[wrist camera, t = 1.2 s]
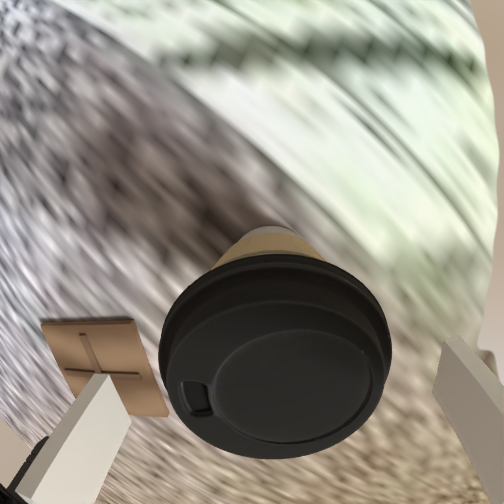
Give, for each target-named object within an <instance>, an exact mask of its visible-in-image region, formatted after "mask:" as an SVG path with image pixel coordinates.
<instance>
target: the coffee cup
mask: <svg viewBox="0 0 504 504" xmlns="http://www.w3.org/2000/svg"><path fill="white" fill-rule="evenodd" d="M391 359H392V343H391V337H390V332H389V329H388V325H387V321H386V318H385V315H384V312H383V310H382V308H381V306H380V304H379V303H378V301H377V300H376V298H375V297H374V295H373V294H372V293H371V292H370V290H369V289H368V288H367V287H366V286H365V285H364V284H363V283H362V282H360V281H359V280H358V279H357V278H355V277H354V276H353V275H351V274H350V273H348V272H346V271H345V270H343V269H341V268H339V267H337V266H335V265H333V264H330V263H328V262H327V261H326V260H325V259H324V258H323V257H322V256H321V255H320V254H319V253H318V252H317V251H316V250H315V249H314V248H313V247H312V246H311V245H310V244H309V243H307V242H306V241H304V240H302V239H301V238H300V237H299V236H298V235H297V234H296V233H294V232H293V231H291V230H289V229H287V228H284V227H279V226H264V227H259V228H256V229H254V230H251V231H250V232H248V233H246V234H245V235H244V236H243V237H242V238H241V239H240V240H239V241H238V242H237V243H236V244H234V245H233V246H231V247H230V248H229V249H228V250H227V251H226V252H225V254H224V255H223V256H222V257H221V258H220V259H219V260H218V262H217V263H216V264H215V265H214V266H213V267H212V268H211V270H210V271H209V272H207V273H205V274H204V275H203V276H201V277H200V278H198V279H197V280H195V281H194V282H193V283H192V284H191V285H189V286H188V287H187V288H186V289H185V290H184V291H183V292H182V293H181V295H180V296H179V297H178V298H177V300H176V301H175V302H174V304H173V306H172V307H171V309H170V311H169V313H168V315H167V317H166V319H165V322H164V325H163V329H162V333H161V339H160V344H159V352H158V362H159V369H160V374H161V378H162V380H163V383H164V386H165V388H166V390H167V392H168V395H169V399H170V402H171V404H172V406H173V408H174V410H175V412H176V414H177V415H178V417H179V418H180V419H181V421H182V422H183V423H184V424H185V425H186V426H187V427H188V428H189V429H190V430H191V431H192V432H193V433H194V434H196V435H197V436H198V437H200V438H201V439H203V440H204V441H206V442H207V443H209V444H211V445H213V446H215V447H217V448H219V449H222V450H224V451H227V452H230V453H233V454H236V455H240V456H245V457H250V458H258V459H288V458H295V457H301V456H305V455H309V454H313V453H316V452H319V451H322V450H324V449H327V448H329V447H331V446H333V445H335V444H337V443H339V442H341V441H342V440H344V439H346V438H347V437H349V436H350V435H351V434H353V433H354V432H355V431H356V430H358V429H359V428H360V427H361V426H362V425H363V424H364V423H365V422H366V421H367V420H368V418H369V417H370V416H371V414H372V413H373V412H374V410H375V408H376V407H377V405H378V403H379V401H380V398H381V396H382V393H383V389H384V384H385V382H386V379H387V377H388V374H389V370H390V366H391Z"/></svg>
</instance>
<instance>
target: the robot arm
mask: <svg viewBox="0 0 504 504" xmlns="http://www.w3.org/2000/svg"><path fill="white" fill-rule="evenodd" d="M432 393H433V395H434V396H435V398H436V400H437V401H438V403H439V405H440V406H441V408H442V410H443V412H444V413H445V415H446V417H447V419H448V420H449V422H450V424H451V426H452V427H453V429H454V431H455V433H456V435H457V436H458V438H459V440H460V442H461V444H462V446H463V447H464V449H465V451H466V453H467V455H468V457H469V459H470V461H471V463H472V465H473V467H474V468H475V470H476V472H477V474H478V476H479V478H480V480H481V483H482V485H483V487H484V489H485V491H486V493H487V495H488V497H489V499H490V501H491V504H504V386H503V384H502V383H501V382H500V381H499V380H498V378H497V377H496V376H495V375H494V374H493V373H492V371H491V370H490V369H489V368H488V367H487V366H486V364H485V363H484V362H483V361H482V360H481V359H480V358H479V357H478V355H477V354H476V353H475V352H474V351H473V350H472V349H471V348H470V347H469V346H468V344H467V343H466V342H465V341H464V340H463V339H462V338H461V337H460V336H456V337H453V338H449V339H446V340H444V342H443V347H442V352H441V357H440V362H439V367H438V371H437V375H436V380H435V384H434V388H433V392H432ZM131 422H132V420H131V419H130V417H129V415H128V413H127V411H126V409H125V407H124V405H123V403H122V401H121V399H120V397H119V395H118V393H117V391H116V389H115V386H114V384H113V382H112V380H111V378H110V375H109V374H94V375H93V376H92V378H91V379H90V380H89V382H88V383H87V384H86V386H85V387H84V388H83V390H82V391H81V393H80V394H79V395H78V397H77V398H76V400H75V401H74V402H73V404H72V405H71V407H70V408H69V410H68V411H67V412H66V414H65V415H64V417H63V418H62V420H61V421H60V422H59V424H58V425H57V427H56V428H55V430H54V431H53V433H52V434H51V436H50V437H49V436H46V437H45V438H43V439H42V440H41V441H39V442H38V443H37V444H36V446H35V447H34V449H33V450H32V452H31V455H29V456H28V458H27V459H26V462H24V464H23V465H22V467H21V468H20V470H19V471H18V473H17V474H16V476H15V477H14V479H13V480H12V482H11V484H10V485H9V486H8V488H7V489H5V487H3V485H2V484H1V483H0V504H94V502H95V500H96V498H97V496H98V493H99V491H100V489H101V487H102V484H103V482H104V480H105V478H106V476H107V473H108V471H109V469H110V467H111V465H112V462H113V460H114V458H115V456H116V454H117V452H118V450H119V447H120V445H121V443H122V441H123V439H124V437H125V435H126V433H127V430H128V428H129V426H130V424H131Z"/></svg>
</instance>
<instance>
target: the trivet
mask: <svg viewBox="0 0 504 504" xmlns="http://www.w3.org/2000/svg"><path fill="white" fill-rule="evenodd" d="M40 326H41V328H42V331H43V333H44V336H45V338H46V340H47V342H48V345H49V347H50V349H51V351H52V353H53V356H54V358H55V360H56V362H57V364H58V366H59V368H60V370H61V372H62V374H63V376H64V378H65V380H66V382H67V384H68V386H69V387H70V389H71V391H72V393H73V395H74V397H75V398H77V397H78V395H79V394H80V393H81V391H82V390H83V388H84V387H85V386H86V384H87V383H88V382H89V380H90V379H91V378H92V376H93V375H94V374H109V375H110V378H111V380H112V382H113V384H114V386H115V389H116V391H117V393H118V395H119V397H120V399H121V401H122V403H123V405H124V407H125V409H126V411H127V413H128V415H139V416H153V417H168V415H169V410H168V408H167V406H166V404H165V401H164V399H163V396H162V394H161V392H160V389H159V387H158V384H157V382H156V379H155V377H154V374H153V372H152V369H151V366H150V364H149V361H148V359H147V356H146V353H145V350H144V348H143V345H142V342H141V339H140V336H139V333H138V330H137V327H136V324H135V321H134V320H114V321H84V322H44V323H42V324H41V325H40Z"/></svg>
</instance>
